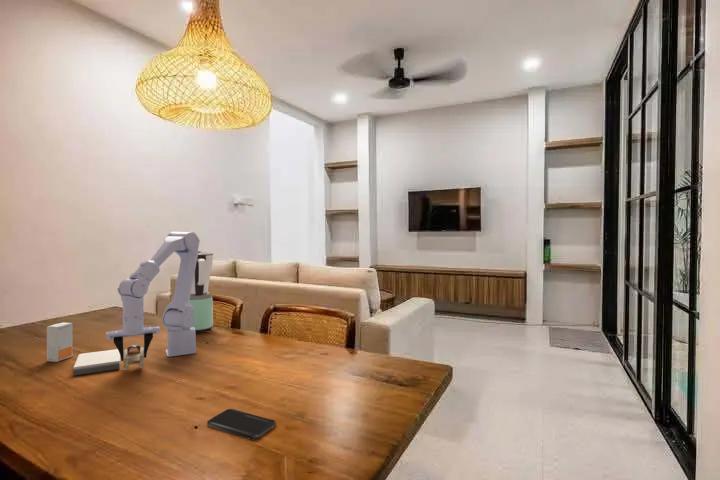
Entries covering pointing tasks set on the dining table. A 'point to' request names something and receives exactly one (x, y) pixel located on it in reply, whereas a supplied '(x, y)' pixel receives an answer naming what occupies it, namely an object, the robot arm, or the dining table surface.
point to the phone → (241, 423)
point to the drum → (133, 349)
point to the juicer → (202, 293)
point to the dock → (97, 362)
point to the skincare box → (59, 341)
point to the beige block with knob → (133, 358)
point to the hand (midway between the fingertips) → (133, 358)
